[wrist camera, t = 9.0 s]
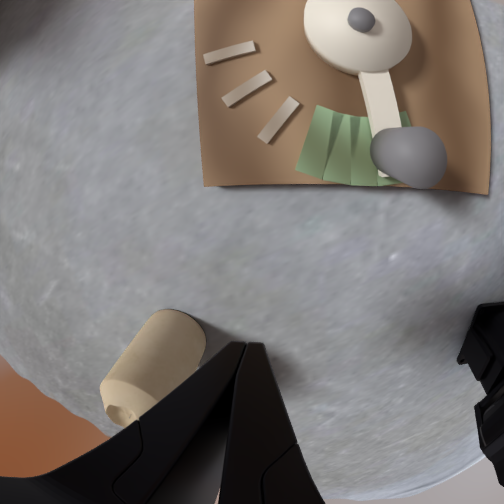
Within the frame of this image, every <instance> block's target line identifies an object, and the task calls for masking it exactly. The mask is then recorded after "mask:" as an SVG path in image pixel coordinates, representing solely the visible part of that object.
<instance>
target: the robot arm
mask: <svg viewBox="0 0 504 504" xmlns="http://www.w3.org/2000/svg"><path fill="white" fill-rule="evenodd" d="M457 362H458V364H459V365H462V364H467V363H468V365H469V367H470V369H471V371H472V372H473V374H474V376H475V378H476V380H477V381H480V382H481V384H482V386H483V388H484V390H485V392H486V394H487V396H486V397H485V398H484V399H482V400H481V401H480V402H478V403H477V404H476V405H475V406H474V409H475V416H476V422H477V429H478V436H479V443H480V448H481V450H482V452H483V454H485V456H486V457H487V458H488V459H489V460H490V461H491V462H492V463H493V465H494V468H495V471H496V474H497V477H498V481H499V484H500V485H502V486H503V487H504V302H499V303H489V304H481V305H479V306H478V307H477V309H476V311H475V314H474V317H473V320H472V323H471V325H470V328H469V331H468V333H467V336H466V338H465V341H464V343H463V346H462V348H461V351H460V353H459V355H458V358H457ZM220 486H221V487H220ZM219 489H220V494H219V501H218V504H325V502H324V500H323V499H322V497H321V495H320V493H319V491H318V489H317V487H316V485H315V483H314V481H313V479H312V477H311V475H310V473H309V470H308V468H307V465H306V463H305V460H304V458H303V455H302V452H301V450H300V447H299V445H298V444H297V439H296V436H295V433H294V430H293V427H292V425H291V422H290V419H289V416H288V413H287V410H286V407H285V404H284V402H283V399H282V396H281V393H280V390H279V387H278V384H277V381H276V378H275V375H274V372H273V369H272V366H271V363H270V360H269V357H268V354H267V351H266V348H265V345H264V344H263V343H261V342H248V343H246V342H244V341H231V342H229V343H228V344H227V345H226V346H224V347H223V348H222V349H221V350H220V351H219V352H218V353H216V354H215V355H214V356H213V357H212V358H211V359H209V360H208V361H207V362H206V363H205V364H204V365H202V366H201V367H200V368H199V369H198V370H197V371H195V372H194V373H193V374H192V375H191V376H189V377H188V378H187V379H186V380H185V381H183V382H182V383H181V384H180V385H179V386H177V387H176V388H175V389H174V390H173V391H171V392H170V393H169V394H168V395H166V396H165V397H164V398H163V399H161V400H160V401H159V402H158V403H157V404H155V405H154V406H153V407H151V408H150V409H149V410H148V411H146V412H145V413H144V414H143V415H141V416H140V417H139V420H137V419H136V420H135V421H133V422H132V423H131V424H130V425H128V426H127V427H126V428H124V429H123V430H121V431H120V432H119V433H117V434H116V435H114V436H113V437H112V438H110V439H109V440H107V441H106V442H104V443H102V444H101V445H99V446H97V447H96V448H94V449H92V450H91V451H89V452H87V453H85V454H84V455H81V456H80V457H78V458H76V459H74V460H72V461H70V462H68V463H67V464H65V465H62V466H61V467H59V468H57V469H55V470H53V471H50V472H48V473H46V474H43V475H39V476H35V477H27V478H18V477H2V476H0V504H214V503H215V501H216V498H217V495H218V492H219Z"/></svg>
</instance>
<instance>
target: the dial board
mask: <svg viewBox="0 0 504 504" xmlns="http://www.w3.org/2000/svg"><path fill="white" fill-rule="evenodd" d="M307 1H308V0H194V22H195V57H196V80H197V99H198V116H199V130H200V144H201V157H202V169H203V181H204V187H209V186H229V185H257V184H347V185H358V186H398V187H411V186H409V185H407V184H405V183H403V182H401V181H399V180H397V179H395V178H393V177H391V176H388V177H381V176H379V174H378V169H377V168H376V166H375V165H374V164H373V162H372V159H371V156H370V144H371V141H372V139H373V138H372V133H371V128H370V123H369V118H368V114H367V109H366V105H365V101H364V96H363V92H362V88H361V85H360V81H359V77H358V76H356V75H351V74H347V73H344V72H342V71H339V70H337V69H335V68H333V67H331V66H330V65H328V64H327V63H325V62H324V61H323V60H322V59H321V58H319V57H318V56H317V54H316V53H315V52H314V51H313V50H312V48H311V47H310V45H309V43H308V41H307V39H306V36H305V32H304V9H305V5H306V3H307ZM395 2H396V3H397V4H398V5H399V6H400V7H401V8H402V10H403V11H404V13H405V14H406V16H407V18H408V20H409V23H410V26H411V30H412V43H411V47H410V50H409V52H408V54H407V55H406V56H405V58H404V59H403V60H402V61H400V62H399V63H398V64H396V65H395V66H394V67H392V68H391V69H389V70H388V71H389V74H390V78H391V82H392V86H393V90H394V94H395V98H396V102H397V107H398V111H399V116H400V121H401V126H402V127H416V126H418V127H425V128H428V129H430V130H432V131H433V132H435V133H436V134H437V135H438V136H439V137H440V139H441V140H442V142H443V144H444V146H445V149H446V152H447V167H446V171H445V173H444V175H443V177H442V179H441V180H440V181H439V182H438V183H437V184H436V185H434V186H433V187H430V188H427V189H439V190H450V191H460V192H469V193H478V194H486V195H488V189H489V177H490V156H491V125H490V105H489V93H488V84H487V76H486V68H485V62H484V56H483V51H482V46H481V41H480V36H479V32H478V28H477V24H476V20H475V16H474V12H473V9H472V6H471V2H470V0H395Z"/></svg>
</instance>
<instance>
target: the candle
mask: <svg viewBox="0 0 504 504" xmlns="http://www.w3.org/2000/svg"><path fill="white" fill-rule="evenodd" d="M205 347H206V337H205V334H204V331H203V330H202V328H201V327H200V325H199V324H198V323H197V322H196V321H195V320H194V319H193V318H191V317H190V316H188V315H187V314H185V313H182V312H180V311H177V310H172V309H164V310H159V311H157V312H156V313H154V314H153V315H152V316H151V317H150V318H149V319H148V320H147V322H146V323H145V324H144V326H143V327H142V328H141V329H140V331H139V332H138V333H137V335H136V336H135V337H134V339H133V340H132V341H131V343H130V344H129V346H128V347H127V348H126V350H125V351H124V352H123V354H122V355H121V356H120V358H119V359H118V360H117V362H116V363H115V365H114V366H113V367H112V369H111V370H110V372H109V373H108V374H107V376H106V377H105V378H104V380H103V381H102V383H101V384H100V392H101V396H102V400H103V403H104V407H105V412H106V414H107V415H108V417H109V418H110V419H111V420H112V421H113V422H114V423H115V424H117V425H120V426H123V427H124V428H126V427H127V426H128V425H130V424H131V423H132V422H133V421H135V420H136V419H137V420H139V417H140V416H141V415H143V414H144V413H145V412H146V411H148V410H149V409H150V408H151V407H153V406H154V405H155V404H157V403H158V402H159V401H160V400H161V399H163V398H164V397H165V396H166V395H168V394H169V393H170V392H171V391H173V390H174V389H175V388H176V387H177V386H179V385H180V384H181V383H182V382H183V381H185V380H186V379H187V378H188V377H189V376H191V375H192V374H193V373H194V372H195V371H196V369H197V367H198V365H199V362H200V360H201V358H202V356H203V353H204V351H205Z"/></svg>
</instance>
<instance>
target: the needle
mask: <svg viewBox="0 0 504 504" xmlns="http://www.w3.org/2000/svg"><path fill="white" fill-rule="evenodd" d="M304 32H305V36H306V39H307V41H308V43H309V45H310V47H311V48H312V50H313V51H314V52H315V53H316V54H317V56H318V57H319V58H321V59H322V60H323V61H324V62H325V63H327V64H328V65H330V66H331V67H333V68H335V69H337V70H339V71H342V72H344V73H347V74H351V75H356V76H358V77H359V81H360V85H361V88H362V92H363V96H364V101H365V105H366V109H367V114H368V118H369V123H370V128H371V133H372V138H373V139H372V141H371V144H370V156H371V159H372V162H373V164H374V165H375V166H376V168H377V169H378V174H379V176H381V177H388V176H391V177H393V178H395V179H397V180H399V181H401V182H403V183H405V184H407V185H409V186H411V187H413V188H417V189H427V188H430V187H433V186H434V185H436V184H437V183H438V182H439V181H440V180H441V179H442V177H443V175H444V173H445V171H446V167H447V152H446V149H445V146H444V144H443V142H442V140H441V139H440V137H439V136H438V135H437V134H436V133H435V132H433V131H432V130H430V129H428V128H425V127H418V126H416V127H402V126H401V121H400V116H399V111H398V107H397V102H396V98H395V94H394V90H393V86H392V82H391V78H390V74H389V71H388V70H389V69H391V68H392V67H394V66H395V65H396V64H398V63H399V62H400V61H402V60H403V59H404V58H405V56H406V55H407V54H408V52H409V50H410V47H411V43H412V30H411V26H410V23H409V20H408V18H407V16H406V14H405V13H404V11H403V10H402V8H401V7H400V6H399V5H398V4H397V3H396V2H395V0H308V1H307V3H306V5H305V9H304Z"/></svg>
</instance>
